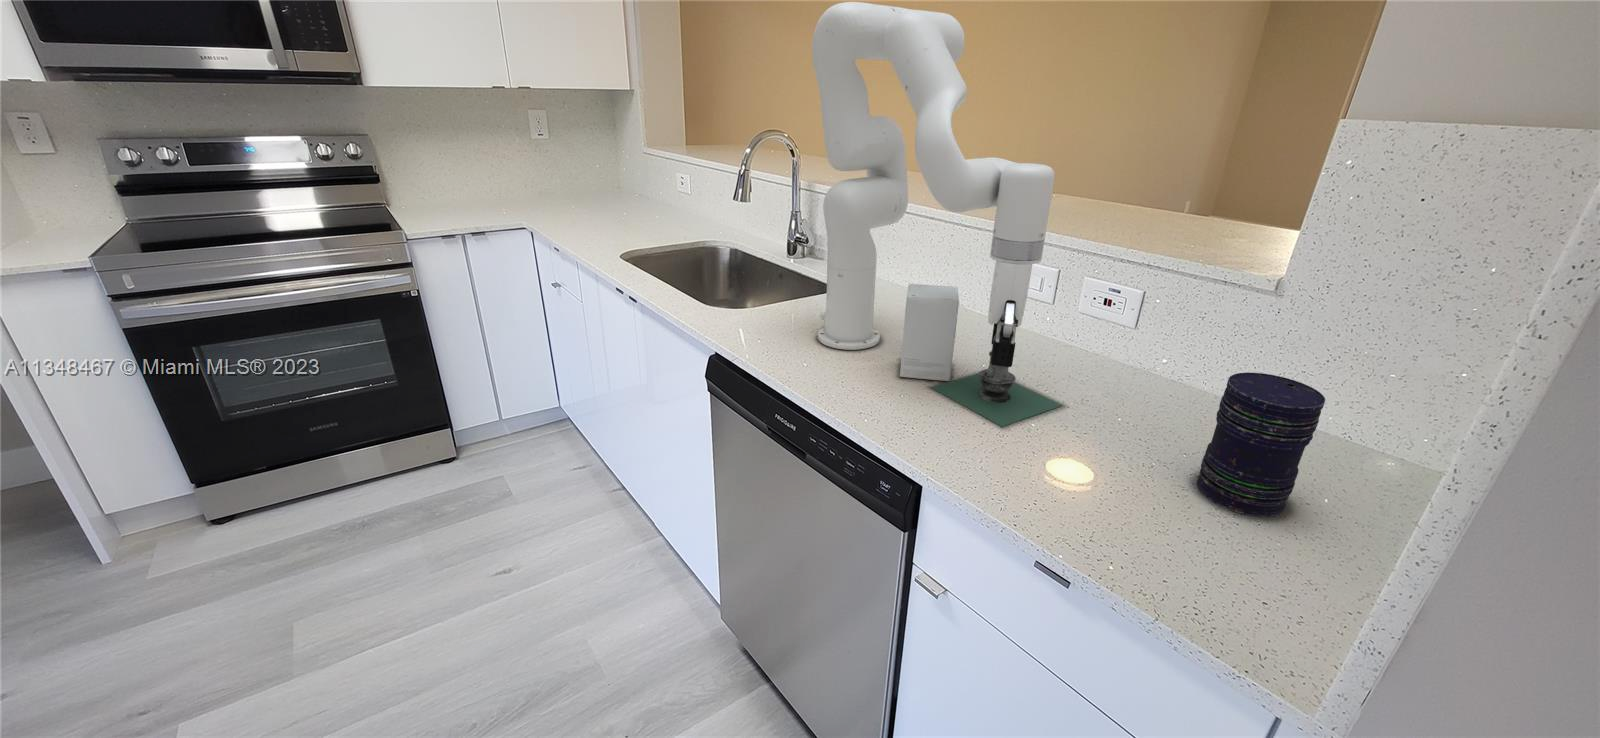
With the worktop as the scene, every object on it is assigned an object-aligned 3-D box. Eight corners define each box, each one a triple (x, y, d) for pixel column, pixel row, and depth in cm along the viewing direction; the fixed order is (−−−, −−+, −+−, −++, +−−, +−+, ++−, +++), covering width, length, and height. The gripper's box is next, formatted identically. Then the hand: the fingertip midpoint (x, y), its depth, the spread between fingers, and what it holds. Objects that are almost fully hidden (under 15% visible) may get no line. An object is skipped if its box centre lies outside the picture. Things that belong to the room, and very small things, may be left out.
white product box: (950, 382, 113) (960, 300, 107) (899, 377, 114) (905, 296, 108) (950, 363, 121) (958, 285, 115) (902, 359, 123) (908, 282, 117)
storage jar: (1251, 525, 77) (1291, 414, 71) (1178, 482, 85) (1208, 379, 79) (1303, 506, 81) (1346, 399, 75) (1228, 466, 89) (1261, 367, 83)
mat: (930, 387, 111) (931, 387, 111) (989, 371, 118) (989, 370, 118) (1001, 427, 99) (1002, 426, 99) (1062, 405, 105) (1062, 405, 105)
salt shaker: (993, 406, 105) (1003, 337, 100) (968, 392, 109) (977, 325, 104) (1020, 399, 107) (1031, 331, 102) (995, 385, 112) (1004, 320, 107)
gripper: (991, 235, 107) (978, 334, 114) (990, 260, 91) (975, 373, 98) (1039, 238, 105) (1023, 339, 112) (1046, 265, 89) (1027, 379, 97)
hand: (1001, 354), depth 105 cm, fingers open, 8 cm apart
